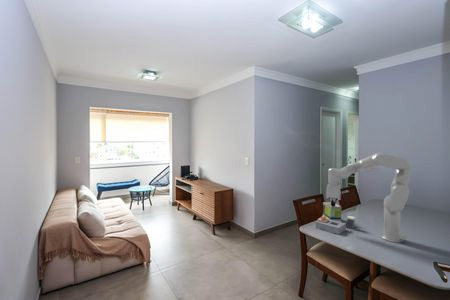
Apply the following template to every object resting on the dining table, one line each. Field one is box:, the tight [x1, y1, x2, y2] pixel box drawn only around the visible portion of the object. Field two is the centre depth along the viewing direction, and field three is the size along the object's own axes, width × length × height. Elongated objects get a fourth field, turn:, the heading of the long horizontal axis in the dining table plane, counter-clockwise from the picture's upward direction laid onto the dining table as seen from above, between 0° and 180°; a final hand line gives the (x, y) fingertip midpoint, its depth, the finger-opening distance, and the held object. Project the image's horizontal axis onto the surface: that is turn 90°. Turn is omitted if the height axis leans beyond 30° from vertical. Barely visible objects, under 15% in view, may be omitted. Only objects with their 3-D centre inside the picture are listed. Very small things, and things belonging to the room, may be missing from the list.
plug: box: [346, 215, 356, 230], centre depth 181 cm, size 5×5×9 cm
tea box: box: [322, 201, 342, 222], centre depth 199 cm, size 15×10×15 cm
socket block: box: [315, 220, 347, 235], centre depth 180 cm, size 18×14×5 cm
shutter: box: [316, 215, 330, 223], centre depth 184 cm, size 7×7×3 cm
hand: (333, 206), depth 179 cm, fingers closed
